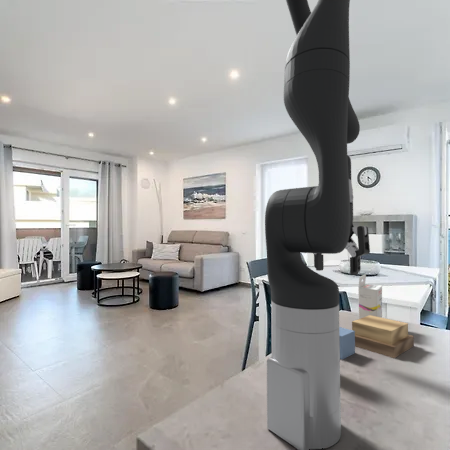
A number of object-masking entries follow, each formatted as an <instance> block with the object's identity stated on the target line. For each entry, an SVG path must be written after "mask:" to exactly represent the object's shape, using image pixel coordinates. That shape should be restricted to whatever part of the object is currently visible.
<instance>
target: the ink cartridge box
mask: <svg viewBox="0 0 450 450" xmlns="http://www.w3.org/2000/svg"><path fill="white" fill-rule="evenodd" d="M366 276H367V274H366V273H365V274H363V275H361V276H359V279H358V319H361V318H363V317H366V316H369V315H372V316H376V317H381V318H383V285H380V284H366Z"/></svg>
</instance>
